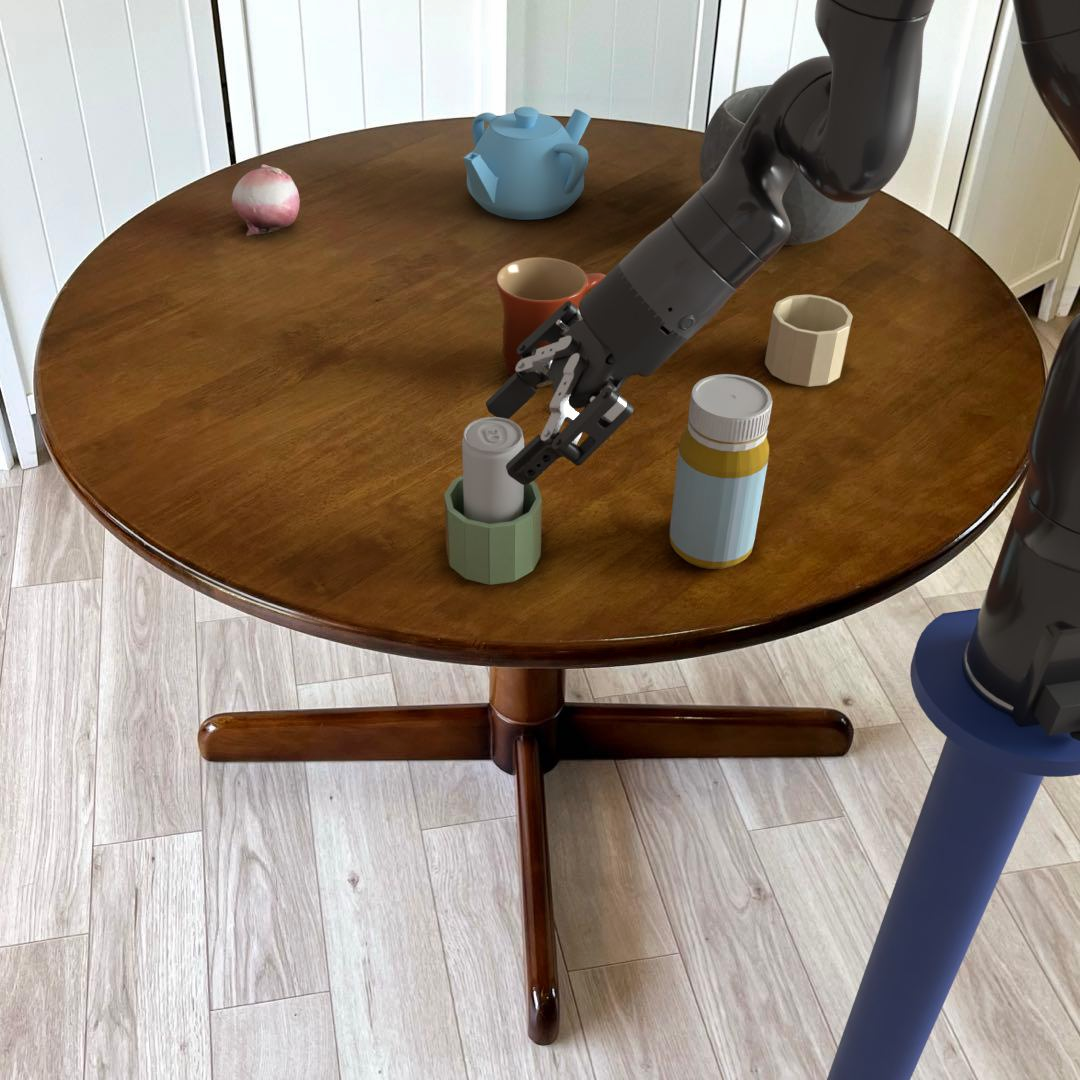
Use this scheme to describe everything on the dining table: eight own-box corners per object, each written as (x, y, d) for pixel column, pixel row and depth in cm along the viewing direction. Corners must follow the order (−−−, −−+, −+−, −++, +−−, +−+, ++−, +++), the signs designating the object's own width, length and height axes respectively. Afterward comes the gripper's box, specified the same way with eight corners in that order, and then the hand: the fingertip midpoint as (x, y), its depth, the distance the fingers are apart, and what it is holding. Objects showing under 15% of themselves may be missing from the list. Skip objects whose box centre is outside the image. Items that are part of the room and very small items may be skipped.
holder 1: (547, 577, 100) (549, 520, 96) (455, 589, 99) (452, 531, 95) (529, 519, 106) (530, 463, 102) (441, 529, 104) (439, 473, 101)
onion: (316, 227, 147) (310, 169, 142) (265, 249, 142) (257, 191, 138) (272, 207, 151) (264, 150, 146) (221, 228, 146) (212, 170, 142)
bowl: (901, 240, 147) (929, 116, 137) (779, 289, 137) (800, 160, 128) (778, 181, 159) (796, 63, 149) (659, 222, 150) (669, 99, 140)
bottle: (767, 563, 102) (794, 412, 92) (690, 581, 100) (710, 429, 90) (729, 512, 107) (751, 364, 97) (655, 528, 105) (670, 379, 95)
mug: (513, 401, 119) (513, 307, 113) (484, 356, 126) (483, 264, 119) (626, 379, 123) (633, 287, 116) (593, 336, 129) (598, 246, 122)
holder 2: (852, 382, 123) (864, 329, 119) (780, 389, 122) (790, 336, 118) (824, 343, 129) (834, 291, 125) (755, 349, 128) (763, 298, 124)
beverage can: (516, 530, 105) (517, 412, 97) (528, 567, 101) (530, 448, 93) (460, 537, 104) (457, 419, 96) (470, 574, 100) (467, 455, 92)
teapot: (608, 222, 149) (613, 131, 142) (465, 229, 147) (463, 138, 140) (587, 170, 161) (590, 83, 154) (454, 176, 159) (451, 89, 152)
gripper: (599, 223, 93) (453, 370, 98) (652, 317, 82) (485, 475, 87) (662, 281, 97) (519, 418, 102) (720, 376, 86) (557, 524, 92)
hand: (503, 444), depth 95 cm, fingers open, 8 cm apart
